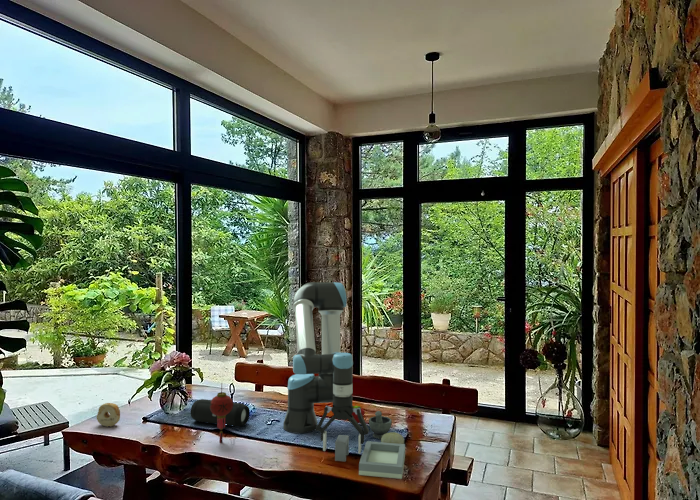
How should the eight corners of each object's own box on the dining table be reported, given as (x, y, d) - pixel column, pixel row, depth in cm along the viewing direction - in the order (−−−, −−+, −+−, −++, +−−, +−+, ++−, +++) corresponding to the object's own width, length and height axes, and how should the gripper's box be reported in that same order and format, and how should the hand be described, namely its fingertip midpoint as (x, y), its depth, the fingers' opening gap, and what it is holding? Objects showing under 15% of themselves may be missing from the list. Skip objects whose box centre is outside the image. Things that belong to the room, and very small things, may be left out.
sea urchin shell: (377, 436, 193) (390, 422, 194) (390, 449, 194) (403, 435, 194) (380, 445, 184) (394, 430, 185) (394, 459, 185) (408, 444, 185)
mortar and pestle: (371, 430, 205) (371, 403, 205) (392, 432, 203) (392, 405, 203) (366, 440, 194) (366, 411, 194) (389, 442, 192) (389, 413, 192)
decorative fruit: (363, 427, 208) (363, 405, 208) (346, 426, 210) (347, 403, 210) (365, 423, 214) (366, 401, 214) (349, 421, 216) (350, 399, 216)
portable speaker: (189, 424, 210) (189, 402, 211) (201, 417, 220) (202, 395, 220) (239, 430, 203) (239, 407, 204) (250, 423, 213) (250, 401, 213)
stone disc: (122, 424, 209) (122, 402, 209) (116, 427, 205) (116, 405, 205) (101, 423, 210) (101, 400, 211) (95, 426, 207) (96, 403, 207)
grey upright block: (334, 460, 174) (335, 441, 174) (338, 452, 181) (338, 434, 181) (345, 461, 174) (345, 442, 174) (348, 453, 181) (348, 435, 181)
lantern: (207, 439, 193) (208, 367, 193) (230, 436, 196) (231, 365, 197) (210, 448, 184) (211, 372, 184) (234, 445, 188) (235, 370, 188)
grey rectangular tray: (358, 474, 163) (359, 463, 163) (366, 451, 183) (366, 441, 183) (401, 478, 161) (402, 467, 161) (405, 454, 180) (405, 444, 180)
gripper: (308, 395, 176) (307, 452, 176) (374, 399, 172) (373, 457, 171) (313, 390, 184) (312, 444, 183) (376, 393, 179) (375, 449, 179)
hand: (342, 450), depth 177 cm, fingers open, 13 cm apart
